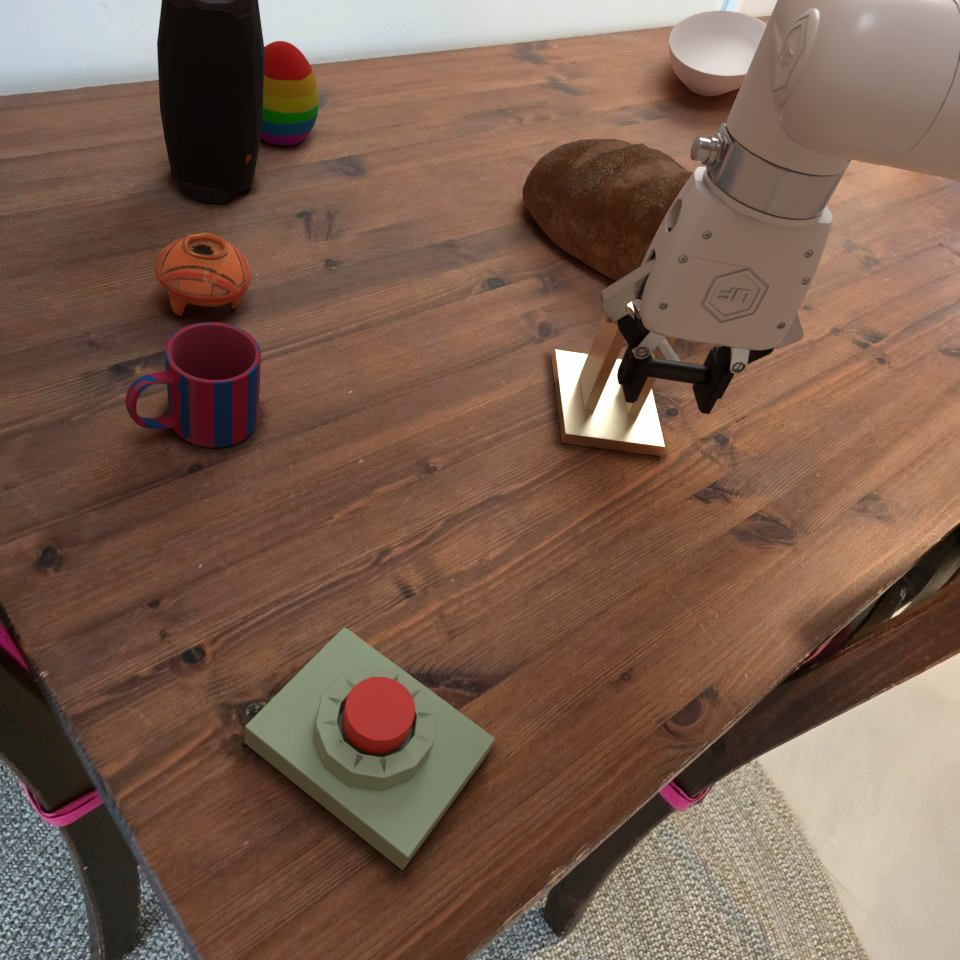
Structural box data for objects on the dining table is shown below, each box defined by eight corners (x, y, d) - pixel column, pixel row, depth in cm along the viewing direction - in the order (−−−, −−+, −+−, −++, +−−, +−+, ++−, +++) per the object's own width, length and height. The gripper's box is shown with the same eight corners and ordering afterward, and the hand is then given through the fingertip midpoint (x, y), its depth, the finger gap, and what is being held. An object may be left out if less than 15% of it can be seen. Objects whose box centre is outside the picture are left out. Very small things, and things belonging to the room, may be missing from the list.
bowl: (724, 132, 125) (743, 90, 120) (630, 89, 128) (644, 46, 123) (779, 73, 144) (797, 35, 140) (697, 37, 147) (711, -1, 143)
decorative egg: (250, 108, 101) (252, 18, 94) (321, 124, 102) (329, 36, 95) (233, 143, 96) (234, 50, 89) (309, 159, 97) (316, 69, 90)
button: (424, 717, 52) (429, 704, 51) (382, 768, 50) (386, 755, 49) (371, 678, 53) (374, 663, 52) (327, 725, 51) (330, 711, 50)
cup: (272, 434, 69) (276, 369, 64) (144, 471, 64) (138, 404, 60) (237, 379, 73) (238, 313, 68) (112, 410, 68) (103, 342, 63)
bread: (721, 357, 89) (772, 263, 81) (488, 219, 97) (513, 121, 88) (776, 295, 99) (826, 206, 91) (561, 175, 107) (590, 83, 98)
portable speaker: (274, 197, 91) (284, -3, 76) (188, 214, 86) (181, 4, 72) (234, 154, 94) (237, -45, 80) (149, 168, 89) (135, -41, 75)
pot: (137, 278, 78) (151, 209, 74) (223, 285, 82) (240, 220, 78) (162, 334, 73) (179, 264, 69) (252, 337, 78) (272, 272, 74)
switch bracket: (660, 456, 77) (715, 354, 69) (561, 443, 76) (604, 337, 67) (642, 372, 85) (689, 270, 76) (551, 358, 83) (589, 253, 75)
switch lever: (704, 394, 65) (715, 365, 64) (640, 385, 64) (649, 355, 63) (661, 330, 75) (670, 304, 74) (605, 321, 74) (613, 294, 73)
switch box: (488, 753, 56) (503, 725, 53) (402, 871, 50) (413, 846, 47) (341, 643, 59) (347, 610, 56) (243, 742, 53) (244, 711, 50)
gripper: (648, 177, 49) (558, 414, 62) (921, 230, 52) (781, 446, 65) (628, 116, 54) (549, 347, 67) (878, 167, 57) (757, 379, 70)
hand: (664, 393), depth 66 cm, fingers closed on switch lever, 5 cm apart
